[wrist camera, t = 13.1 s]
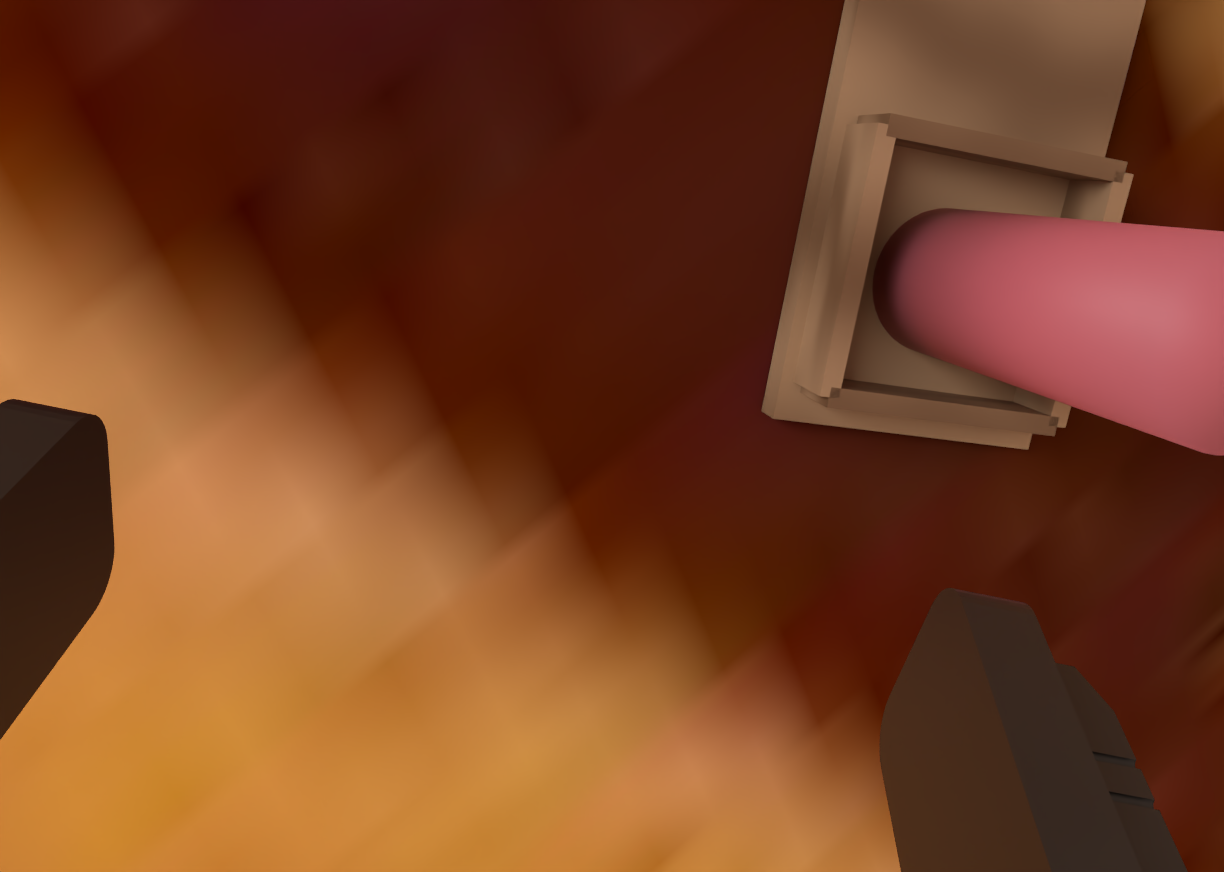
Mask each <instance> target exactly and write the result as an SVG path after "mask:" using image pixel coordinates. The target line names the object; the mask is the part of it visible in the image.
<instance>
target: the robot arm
mask: <svg viewBox="0 0 1224 872" xmlns="http://www.w3.org/2000/svg"><path fill="white" fill-rule="evenodd" d="M113 559H114V532H113V517H112V502H111V487H110V472H109V457H108V442H107V433H106V429H105V426H104V424H103V422H102V420H101V419H100V418H99V417H98V416H96V415H92V414H87V413H82V412H77V411H72V410H67V409H62V408H57V407H52V406H47V405H42V404H37V403H32V402H27V401H22V400H16V399H11V400H7V401H5V402H2V403H1V404H0V739H1V738H2V737H3V735H4V734H5V733H6V731H7V730H8V729H9V727H10V726H11V724H12V723H13V722H14V720H15V719H16V718H17V716H18V715H19V714H20V712H21V711H22V709H23V708H24V707H25V705H26V704H27V703H28V701H29V700H30V699H31V697H32V696H33V695H34V693H35V692H36V690H37V689H38V688H39V686H40V685H41V684H42V682H43V681H44V680H45V678H46V677H47V675H48V674H49V673H50V671H51V670H52V669H53V667H54V666H55V665H56V663H57V662H58V660H59V659H60V658H61V656H62V655H63V654H64V652H65V651H66V650H67V648H68V647H69V646H70V644H71V643H72V641H73V640H74V639H75V637H76V636H77V635H78V633H79V632H80V631H81V629H82V628H83V626H84V625H85V624H86V622H87V621H88V620H89V618H90V617H91V616H92V614H93V613H94V611H95V610H96V608H97V606H98V605H99V603H100V601H101V599H102V597H103V594H104V592H105V590H106V587H107V584H108V581H109V578H110V574H111V570H112V565H113ZM1135 761H1136V758H1135V756H1134V754H1133V752H1132V750H1131V747H1130V745H1129V743H1128V741H1127V739H1126V736H1125V734H1124V732H1123V730H1122V728H1121V726H1120V723H1119V721H1118V719H1117V717H1116V715H1115V712H1114V711H1113V710H1112V709H1111V708H1110V707H1109V705H1108V704H1107V703H1106V702H1105V701H1104V700H1103V699H1102V697H1101V696H1100V695H1099V694H1098V693H1097V692H1096V691H1095V690H1094V688H1093V687H1092V686H1091V685H1090V684H1089V683H1088V682H1087V681H1086V679H1085V678H1084V677H1083V676H1082V675H1081V674H1080V673H1079V672H1078V670H1077V669H1076V668H1075V667H1073V666H1068V665H1063V664H1058V663H1055V661H1054V659H1053V656H1052V654H1051V652H1050V649H1049V647H1048V644H1047V642H1046V639H1045V637H1044V635H1043V632H1042V630H1041V627H1040V625H1039V623H1038V620H1037V618H1036V616H1035V614H1034V612H1033V610H1032V609H1031V607H1030V606H1029V605H1027V604H1026V603H1022V602H1018V601H1013V600H1008V599H1003V598H998V597H993V596H988V595H983V594H978V593H973V592H968V591H963V590H958V589H953V588H947V589H945V590H943V591H942V592H941V593H940V594H939V595H938V596H937V598H936V599H935V601H934V602H933V604H932V606H931V608H930V610H929V613H928V615H927V617H926V619H925V621H924V623H923V625H922V628H921V630H920V632H919V634H918V636H917V638H916V640H915V643H914V645H913V647H912V649H911V651H910V653H909V655H908V658H907V660H906V662H905V664H904V666H903V668H902V671H901V673H900V675H899V677H898V679H897V681H896V683H895V686H894V688H893V690H892V692H891V694H890V696H889V699H888V701H887V704H886V707H885V711H884V715H883V719H882V725H881V733H880V762H881V769H882V774H883V779H884V784H885V790H886V795H887V800H888V805H889V810H890V816H891V821H892V826H893V831H894V836H895V842H896V847H897V852H898V857H899V862H900V868H901V872H1187V870H1186V867H1185V865H1184V863H1183V861H1182V859H1181V857H1180V854H1179V852H1178V850H1177V848H1176V846H1175V843H1174V841H1173V839H1172V837H1171V835H1170V833H1169V830H1168V828H1167V826H1166V824H1165V822H1164V819H1163V817H1162V815H1161V813H1160V811H1159V810H1155V809H1154V808H1153V803H1154V798H1153V795H1152V793H1151V791H1150V789H1149V787H1148V785H1147V782H1146V780H1145V778H1144V776H1143V774H1142V771H1141V769H1136V768H1135Z"/></svg>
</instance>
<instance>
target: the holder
mask: <svg viewBox="0 0 1224 872" xmlns="http://www.w3.org/2000/svg"><path fill="white" fill-rule="evenodd" d="M1145 3H1146V0H845V3H844V7H843V12H842V17H841V22H840V27H839V32H838V37H837V42H836V47H835V52H834V57H833V62H832V66H831V71H830V76H829V81H828V86H827V91H826V96H825V101H824V106H823V111H822V116H821V121H820V125H819V130H818V135H817V140H816V145H815V150H814V155H813V160H812V165H811V170H810V175H809V180H808V185H807V189H806V194H805V199H804V204H803V209H802V214H801V219H800V224H799V229H798V234H797V239H796V244H795V248H794V253H793V258H792V263H791V268H790V273H789V278H788V283H787V288H786V293H785V298H784V303H783V307H782V312H781V317H780V322H779V327H778V332H777V337H776V342H775V347H774V352H773V357H772V362H771V366H770V371H769V376H768V381H767V386H766V391H765V396H764V401H763V406H762V412H764V413H765V414H767V415H768V416H770V417H771V418H773V419H780V420H788V421H796V422H805V423H813V424H821V425H829V426H838V427H846V428H854V429H862V430H870V431H879V432H887V433H895V434H903V435H911V436H920V437H928V438H936V439H944V440H952V441H961V442H969V443H977V444H985V445H994V446H1002V447H1010V448H1018V449H1026V450H1028V448H1029V444H1030V441H1031V437H1032V434H1040V435H1048V436H1055V432H1056V428H1057V427H1062V428H1065V427H1066V424H1067V420H1068V416H1069V413H1070V409H1071V406H1069V405H1067V404H1064V403H1061V402H1058V401H1055V400H1053V399H1050V398H1047V397H1044V396H1041V395H1038V394H1036V393H1033V392H1030V391H1027V390H1024V389H1021V388H1019V387H1016V386H1013V385H1010V384H1007V383H1005V382H1002V381H999V380H996V379H993V378H990V377H988V376H985V375H982V374H979V373H976V372H973V371H971V370H968V369H965V368H962V367H959V366H957V365H954V364H951V363H948V362H945V361H942V360H940V359H937V358H934V357H931V356H928V355H925V354H923V353H920V352H917V351H914V350H912V349H909V348H907V347H905V346H903V345H901V344H900V343H898V342H897V341H896V340H894V339H893V338H892V337H891V336H890V335H889V334H888V333H887V331H886V330H885V328H884V327H883V326H882V324H881V322H880V320H879V318H878V315H877V313H876V310H875V306H874V301H873V292H872V287H873V276H874V270H875V267H876V263H877V260H878V258H879V255H880V253H881V251H882V249H883V247H884V246H885V244H886V242H887V241H888V240H889V238H890V237H891V236H892V234H893V233H894V232H895V231H896V230H897V229H898V228H899V227H900V226H901V225H903V224H904V223H905V222H906V221H908V220H909V219H911V218H912V217H914V216H916V215H918V214H920V213H923V212H926V211H929V210H933V209H939V208H952V209H964V210H976V211H988V212H999V213H1011V214H1023V215H1035V216H1046V217H1058V218H1070V219H1082V220H1094V221H1105V222H1117V223H1121V220H1122V216H1123V212H1124V208H1125V205H1126V201H1127V197H1128V194H1129V190H1130V186H1131V182H1132V179H1133V175H1134V174H1129V173H1125V170H1126V167H1127V163H1128V162H1125V161H1120V160H1115V159H1111V158H1106V157H1105V155H1106V151H1107V147H1108V143H1109V140H1110V136H1111V132H1112V128H1113V124H1114V121H1115V117H1116V113H1117V109H1118V105H1119V102H1120V98H1121V94H1122V90H1123V86H1124V83H1125V79H1126V75H1127V71H1128V67H1129V64H1130V60H1131V56H1132V52H1133V48H1134V44H1135V41H1136V37H1137V33H1138V29H1139V25H1140V22H1141V18H1142V14H1143V10H1144V6H1145Z"/></svg>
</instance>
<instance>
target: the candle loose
mask: <svg viewBox="0 0 1224 872" xmlns="http://www.w3.org/2000/svg"><path fill="white" fill-rule="evenodd" d="M872 292H873V301H874V306H875V310H876V313H877V315H878V318H879V320H880V322H881V324H882V326H883V327H884V328H885V330H886V331H887V333H888V334H889V335H890V336H891V337H892V338H893V339H894V340H896V341H897V342H898V343H900V344H901V345H903V346H905V347H907V348H909V349H912V350H914V351H917V352H920V353H923V354H925V355H928V356H931V357H934V358H937V359H940V360H942V361H945V362H948V363H951V364H954V365H957V366H959V367H962V368H965V369H968V370H971V371H973V372H976V373H979V374H982V375H985V376H988V377H990V378H993V379H996V380H999V381H1002V382H1005V383H1007V384H1010V385H1013V386H1016V387H1019V388H1021V389H1024V390H1027V391H1030V392H1033V393H1036V394H1038V395H1041V396H1044V397H1047V398H1050V399H1053V400H1055V401H1058V402H1061V403H1064V404H1067V405H1069V406H1072V407H1075V408H1078V409H1081V410H1084V411H1086V412H1089V413H1092V414H1095V415H1098V416H1101V417H1103V418H1106V419H1109V420H1112V421H1115V422H1118V423H1120V424H1123V425H1126V426H1129V427H1132V428H1134V429H1137V430H1140V431H1143V432H1146V433H1149V434H1151V435H1154V436H1157V437H1160V438H1163V439H1166V440H1168V441H1171V442H1174V443H1177V444H1180V445H1182V446H1185V447H1188V448H1191V449H1194V450H1197V451H1199V452H1202V453H1207V454H1212V455H1224V232H1223V231H1212V230H1200V229H1188V228H1176V227H1164V226H1153V225H1141V224H1129V223H1117V222H1105V221H1094V220H1082V219H1070V218H1058V217H1046V216H1035V215H1023V214H1011V213H999V212H988V211H976V210H964V209H952V208H939V209H933V210H929V211H926V212H923V213H920V214H918V215H916V216H914V217H912V218H911V219H909V220H908V221H906V222H905V223H904V224H903V225H901V226H900V227H899V228H898V229H897V230H896V231H895V232H894V233H893V234H892V236H891V237H890V238H889V240H888V241H887V242H886V244H885V246H884V247H883V249H882V251H881V253H880V255H879V258H878V260H877V263H876V267H875V270H874V276H873V287H872Z"/></svg>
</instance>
